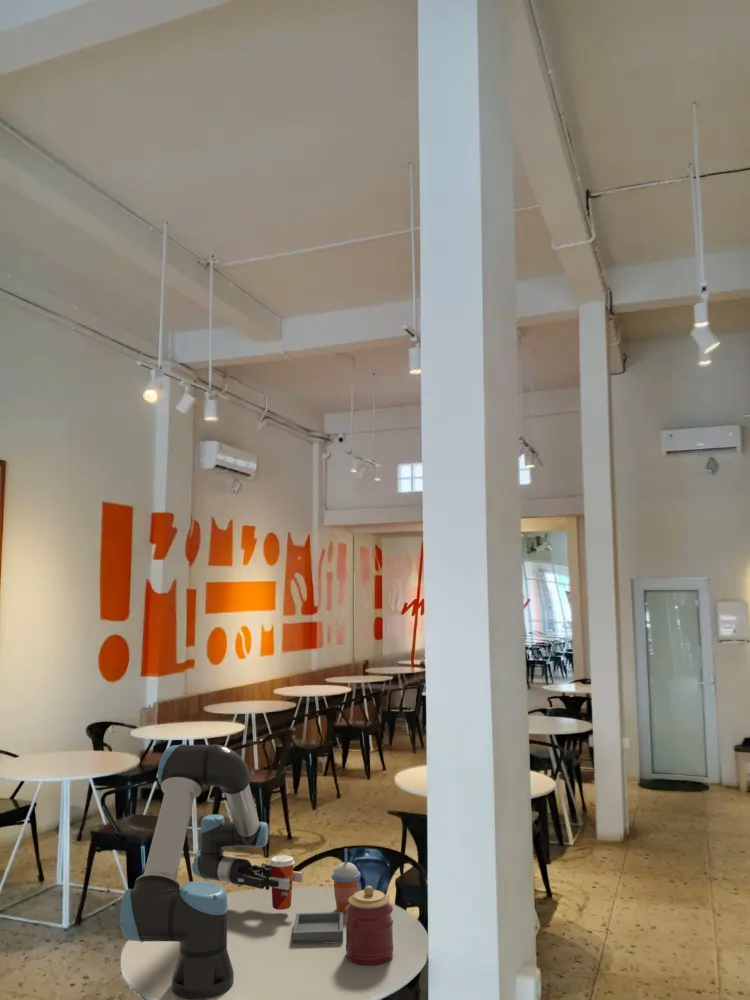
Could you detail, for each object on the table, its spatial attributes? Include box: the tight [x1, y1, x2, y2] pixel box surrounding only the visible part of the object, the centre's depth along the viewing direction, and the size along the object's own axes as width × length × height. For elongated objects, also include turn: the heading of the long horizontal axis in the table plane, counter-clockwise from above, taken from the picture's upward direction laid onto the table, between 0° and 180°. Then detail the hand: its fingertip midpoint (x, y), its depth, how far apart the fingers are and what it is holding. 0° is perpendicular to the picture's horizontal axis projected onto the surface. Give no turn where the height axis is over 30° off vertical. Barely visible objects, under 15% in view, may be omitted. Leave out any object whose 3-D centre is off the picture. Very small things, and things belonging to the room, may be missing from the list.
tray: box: [292, 911, 344, 945], centre depth 223 cm, size 14×14×3 cm
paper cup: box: [269, 855, 295, 911], centre depth 239 cm, size 8×8×14 cm
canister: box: [344, 885, 394, 966], centre depth 209 cm, size 13×13×18 cm
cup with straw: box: [331, 847, 362, 914], centre depth 241 cm, size 9×9×18 cm
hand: (295, 881), depth 236 cm, fingers closed on paper cup, 7 cm apart
